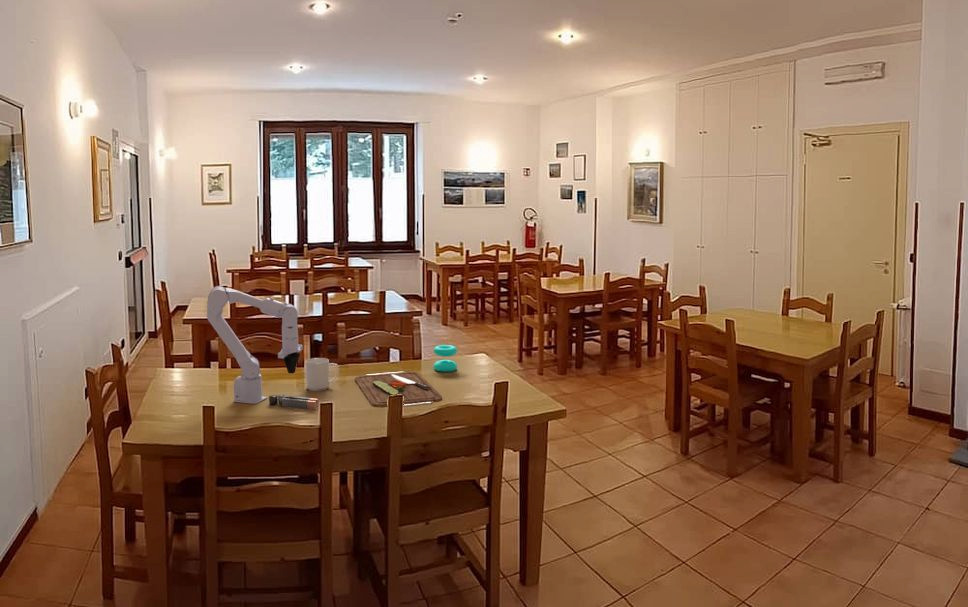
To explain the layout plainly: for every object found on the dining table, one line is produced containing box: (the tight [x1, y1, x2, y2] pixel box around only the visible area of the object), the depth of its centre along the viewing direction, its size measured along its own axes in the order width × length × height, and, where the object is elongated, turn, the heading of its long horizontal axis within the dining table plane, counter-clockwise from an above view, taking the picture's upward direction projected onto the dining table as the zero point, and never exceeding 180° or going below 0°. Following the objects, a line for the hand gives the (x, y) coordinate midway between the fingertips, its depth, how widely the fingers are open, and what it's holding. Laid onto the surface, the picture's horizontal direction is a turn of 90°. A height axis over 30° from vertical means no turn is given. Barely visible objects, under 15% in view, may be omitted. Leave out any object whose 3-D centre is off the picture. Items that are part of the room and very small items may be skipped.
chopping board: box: [354, 371, 443, 408], centre depth 293 cm, size 45×27×3 cm, turn 20°
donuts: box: [433, 344, 458, 373], centre depth 322 cm, size 10×10×10 cm
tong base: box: [268, 394, 318, 411], centre depth 270 cm, size 19×3×3 cm, turn 74°
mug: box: [305, 357, 338, 392], centre depth 292 cm, size 12×9×11 cm
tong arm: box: [277, 394, 320, 409], centre depth 271 cm, size 16×3×3 cm, turn 74°
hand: (291, 372), depth 280 cm, fingers closed
